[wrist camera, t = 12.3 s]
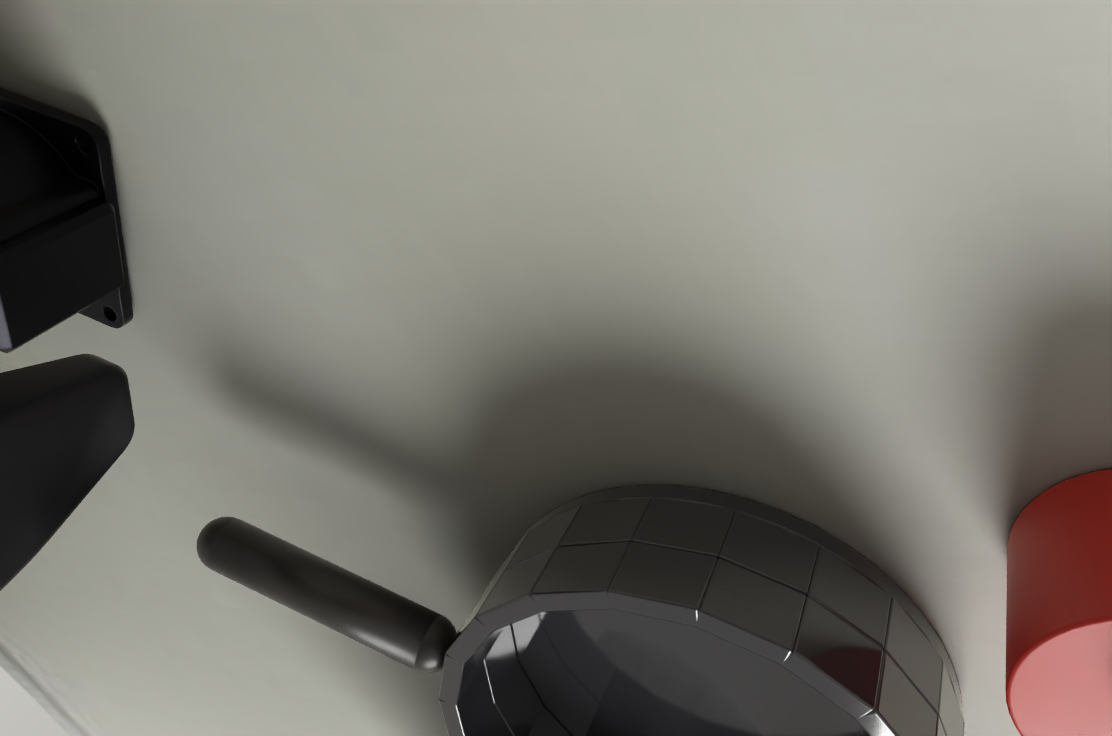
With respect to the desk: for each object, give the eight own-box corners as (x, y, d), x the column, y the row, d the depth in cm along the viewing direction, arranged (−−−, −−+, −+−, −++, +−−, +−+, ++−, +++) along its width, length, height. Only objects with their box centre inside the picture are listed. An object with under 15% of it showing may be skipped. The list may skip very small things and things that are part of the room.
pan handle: (222, 534, 28) (186, 569, 27) (220, 497, 27) (182, 532, 26) (465, 650, 26) (438, 694, 25) (471, 615, 25) (442, 659, 24)
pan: (479, 699, 32) (421, 799, 29) (537, 410, 24) (466, 506, 21) (853, 882, 29) (834, 1017, 26) (1062, 623, 21) (1069, 773, 18)
